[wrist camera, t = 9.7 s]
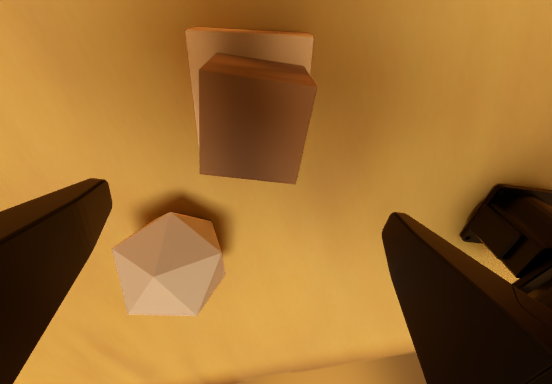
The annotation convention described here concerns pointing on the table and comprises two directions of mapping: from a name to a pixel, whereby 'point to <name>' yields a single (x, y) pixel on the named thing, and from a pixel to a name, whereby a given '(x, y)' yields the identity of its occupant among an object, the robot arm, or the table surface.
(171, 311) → the die
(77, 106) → the table surface
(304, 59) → the maple base
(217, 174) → the walnut cube
